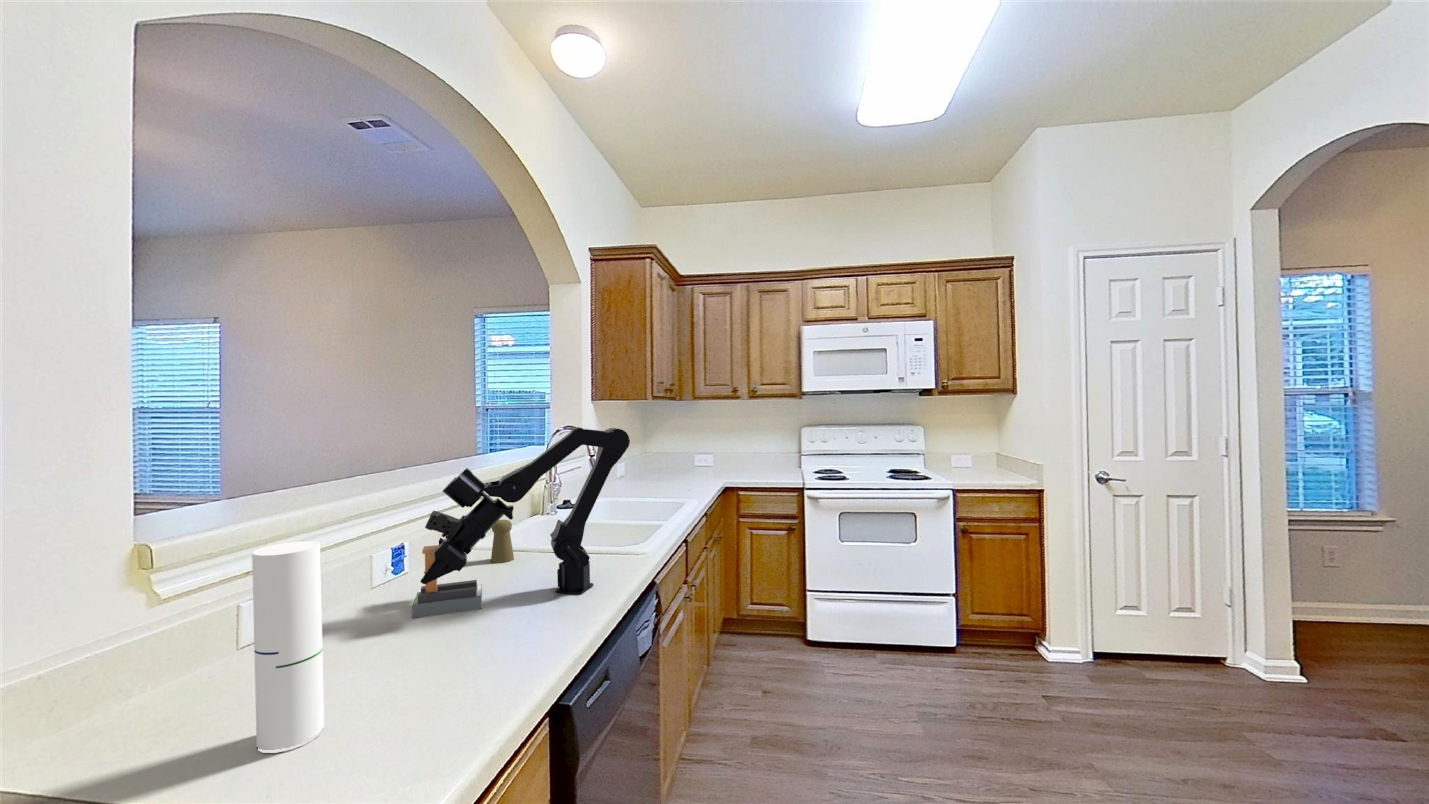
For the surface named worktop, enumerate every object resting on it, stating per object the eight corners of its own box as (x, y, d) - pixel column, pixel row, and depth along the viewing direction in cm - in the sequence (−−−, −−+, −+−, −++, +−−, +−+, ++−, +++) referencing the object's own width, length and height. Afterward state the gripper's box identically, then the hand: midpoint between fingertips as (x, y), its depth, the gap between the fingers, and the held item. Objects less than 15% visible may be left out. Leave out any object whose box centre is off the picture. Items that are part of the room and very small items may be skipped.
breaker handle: (439, 592, 123) (438, 545, 123) (438, 597, 120) (437, 548, 120) (425, 594, 122) (424, 546, 122) (423, 599, 119) (422, 550, 119)
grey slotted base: (482, 595, 129) (481, 577, 129) (481, 608, 121) (480, 590, 121) (417, 603, 124) (417, 585, 124) (412, 618, 116) (411, 598, 116)
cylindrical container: (280, 723, 79) (276, 542, 78) (335, 720, 79) (331, 540, 79) (242, 756, 71) (237, 556, 71) (302, 752, 72) (298, 554, 72)
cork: (506, 563, 154) (505, 522, 154) (486, 562, 155) (485, 522, 155) (518, 557, 160) (517, 518, 160) (498, 556, 161) (498, 517, 161)
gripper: (452, 491, 131) (399, 544, 128) (446, 504, 114) (384, 567, 110) (490, 522, 134) (439, 575, 130) (489, 540, 117) (430, 601, 113)
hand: (423, 578), depth 121 cm, fingers open, 6 cm apart
